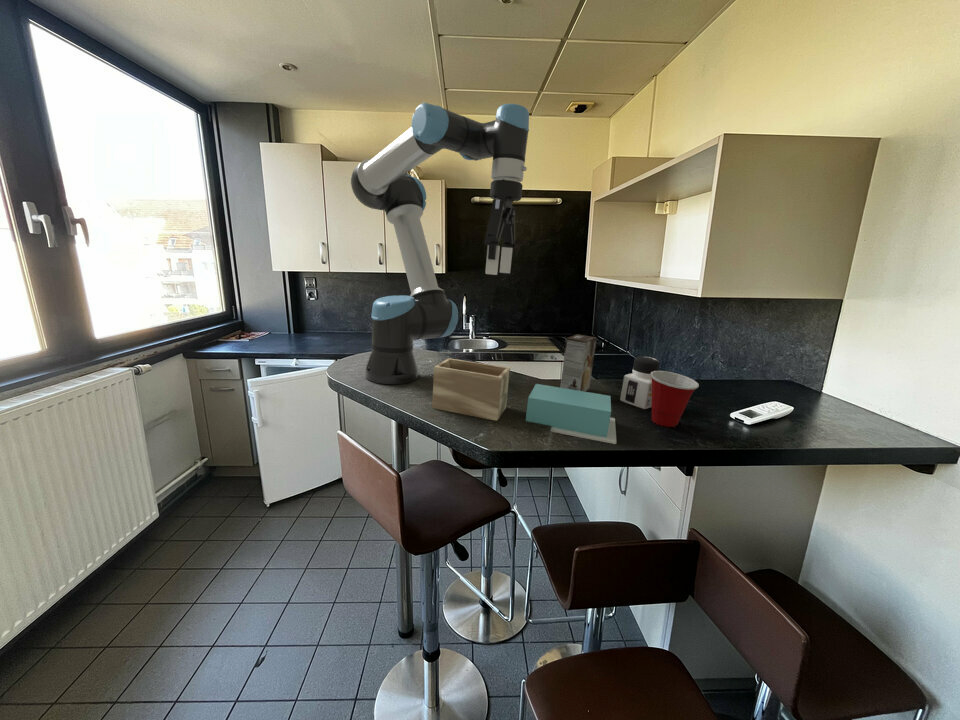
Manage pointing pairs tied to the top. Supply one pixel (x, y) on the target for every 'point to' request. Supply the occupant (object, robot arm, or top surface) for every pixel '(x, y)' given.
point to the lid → (569, 409)
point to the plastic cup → (670, 396)
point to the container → (639, 383)
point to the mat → (609, 439)
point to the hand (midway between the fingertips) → (498, 273)
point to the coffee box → (578, 362)
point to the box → (470, 388)
